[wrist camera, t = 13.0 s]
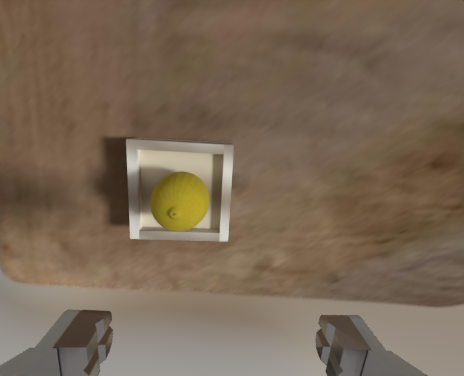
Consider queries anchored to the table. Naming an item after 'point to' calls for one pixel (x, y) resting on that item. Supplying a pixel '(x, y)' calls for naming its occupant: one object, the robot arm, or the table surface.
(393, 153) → the table surface
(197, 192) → the lemon
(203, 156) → the base
